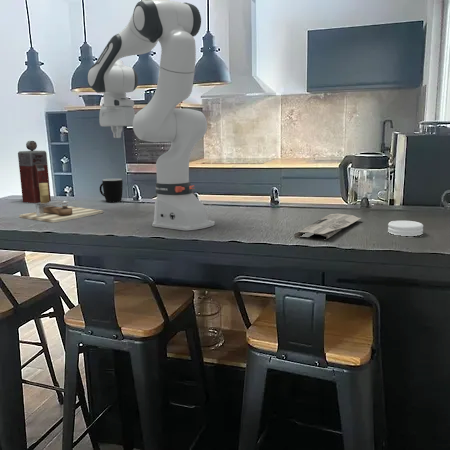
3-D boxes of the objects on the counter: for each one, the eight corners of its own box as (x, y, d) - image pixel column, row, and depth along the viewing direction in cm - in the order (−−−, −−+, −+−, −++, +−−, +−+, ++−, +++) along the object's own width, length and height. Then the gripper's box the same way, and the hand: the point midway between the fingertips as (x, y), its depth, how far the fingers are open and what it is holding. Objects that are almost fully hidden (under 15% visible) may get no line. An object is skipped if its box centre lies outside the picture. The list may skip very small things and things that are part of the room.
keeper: (74, 214, 181) (73, 200, 180) (52, 218, 173) (51, 204, 172) (58, 211, 186) (57, 198, 185) (36, 215, 178) (35, 202, 177)
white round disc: (427, 233, 144) (428, 222, 144) (415, 239, 137) (416, 228, 136) (395, 229, 151) (396, 218, 150) (382, 235, 144) (382, 223, 143)
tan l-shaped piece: (75, 213, 180) (72, 184, 178) (64, 215, 176) (61, 186, 174) (48, 209, 189) (46, 182, 187) (37, 211, 185) (34, 183, 183)
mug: (127, 200, 220) (126, 178, 218) (115, 203, 212) (114, 180, 210) (107, 199, 225) (105, 178, 223) (94, 202, 217) (92, 180, 215)
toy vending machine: (38, 203, 215) (32, 141, 210) (22, 202, 221) (16, 141, 215) (54, 200, 223) (49, 140, 217) (38, 199, 228) (33, 140, 223)
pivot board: (103, 212, 188) (103, 210, 188) (54, 222, 170) (53, 220, 170) (69, 208, 200) (68, 206, 200) (19, 217, 181) (19, 214, 181)
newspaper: (327, 219, 171) (328, 209, 170) (362, 222, 165) (363, 212, 164) (292, 239, 141) (292, 228, 140) (333, 244, 135) (333, 232, 134)
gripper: (94, 103, 194) (96, 137, 196) (123, 101, 180) (125, 138, 182) (107, 103, 198) (109, 137, 201) (136, 101, 184) (138, 137, 187)
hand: (117, 137), depth 192 cm, fingers closed
